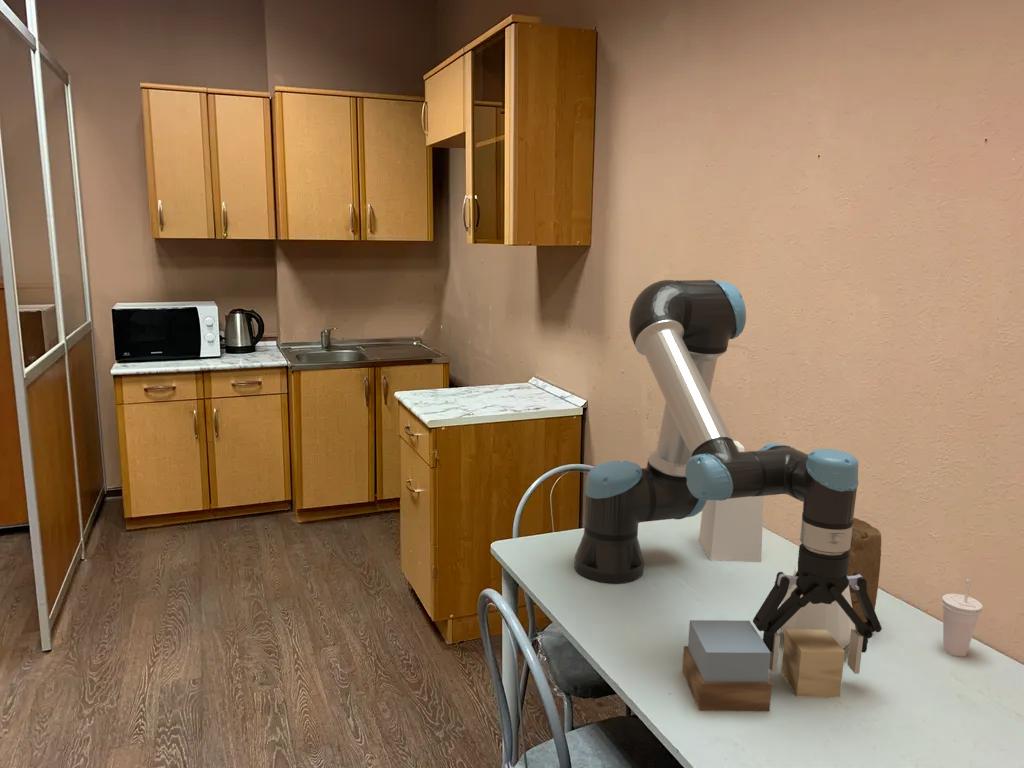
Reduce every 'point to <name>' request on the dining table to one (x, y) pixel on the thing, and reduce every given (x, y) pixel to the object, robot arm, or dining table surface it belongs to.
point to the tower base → (725, 691)
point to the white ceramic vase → (822, 618)
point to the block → (864, 561)
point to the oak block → (812, 663)
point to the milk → (733, 527)
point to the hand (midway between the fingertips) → (812, 669)
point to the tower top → (728, 651)
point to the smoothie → (959, 621)
